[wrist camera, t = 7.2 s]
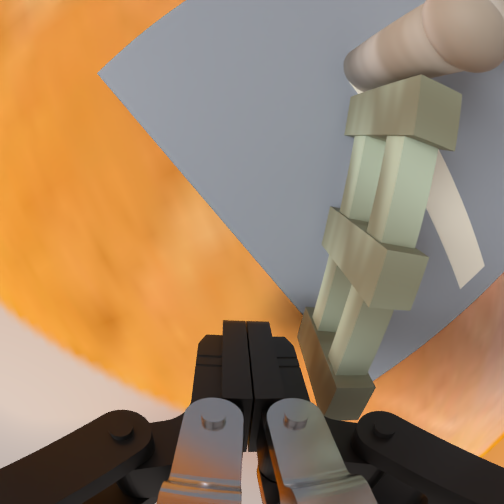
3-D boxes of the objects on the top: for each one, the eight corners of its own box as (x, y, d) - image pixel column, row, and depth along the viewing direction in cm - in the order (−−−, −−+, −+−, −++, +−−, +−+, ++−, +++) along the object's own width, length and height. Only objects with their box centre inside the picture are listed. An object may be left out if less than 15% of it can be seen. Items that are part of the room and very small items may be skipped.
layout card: (420, -86, 6) (423, -88, 6) (567, 186, 11) (571, 188, 11) (100, 74, 9) (96, 73, 9) (362, 382, 14) (364, 387, 14)
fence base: (485, -17, 7) (571, -47, 1) (506, 15, 8) (597, -3, 1) (329, 60, 9) (437, -17, 3) (363, 106, 10) (500, 83, 3)
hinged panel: (350, 96, 9) (421, 74, 5) (381, 106, 9) (462, 94, 5) (297, 336, 12) (321, 420, 8) (324, 338, 12) (358, 419, 8)
